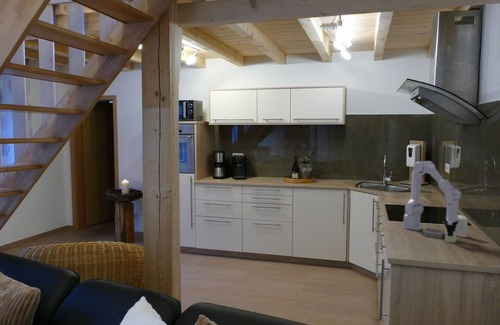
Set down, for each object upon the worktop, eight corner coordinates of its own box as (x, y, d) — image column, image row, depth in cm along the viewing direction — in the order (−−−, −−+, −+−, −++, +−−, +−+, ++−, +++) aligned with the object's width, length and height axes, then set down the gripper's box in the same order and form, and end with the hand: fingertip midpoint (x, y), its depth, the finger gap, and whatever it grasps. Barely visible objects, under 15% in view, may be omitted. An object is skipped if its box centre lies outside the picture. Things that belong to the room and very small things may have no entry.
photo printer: (447, 233, 231) (448, 213, 229) (451, 232, 233) (452, 212, 231) (463, 238, 222) (465, 217, 220) (468, 236, 224) (469, 216, 222)
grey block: (422, 236, 226) (422, 231, 226) (426, 232, 234) (426, 227, 234) (441, 239, 221) (441, 234, 220) (444, 235, 229) (444, 230, 228)
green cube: (445, 241, 216) (445, 232, 216) (446, 239, 220) (446, 230, 220) (454, 242, 213) (455, 234, 213) (456, 240, 217) (456, 232, 217)
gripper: (458, 214, 207) (457, 238, 208) (462, 209, 218) (460, 232, 220) (444, 212, 211) (443, 236, 212) (448, 207, 222) (447, 230, 224)
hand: (451, 234), depth 216 cm, fingers open, 7 cm apart
